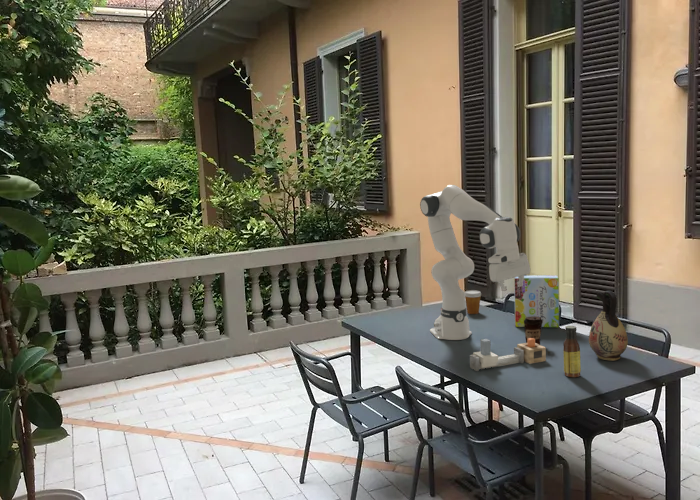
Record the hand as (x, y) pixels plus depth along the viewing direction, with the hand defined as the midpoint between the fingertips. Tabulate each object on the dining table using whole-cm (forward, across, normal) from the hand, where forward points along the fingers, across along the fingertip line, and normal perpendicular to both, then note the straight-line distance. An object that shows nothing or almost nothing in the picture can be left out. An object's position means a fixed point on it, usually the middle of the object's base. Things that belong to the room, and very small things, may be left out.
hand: (512, 288), depth 254 cm
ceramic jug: (+36, -34, +16) cm, 53 cm away
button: (+29, -8, -2) cm, 30 cm away
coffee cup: (+32, -24, -15) cm, 43 cm away
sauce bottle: (+35, -6, +21) cm, 41 cm away
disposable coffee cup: (+26, -43, -76) cm, 92 cm away
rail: (+32, +8, -6) cm, 33 cm away
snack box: (+31, -50, -37) cm, 69 cm away
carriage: (+30, +14, -7) cm, 34 cm away
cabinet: (+33, -8, -2) cm, 34 cm away
